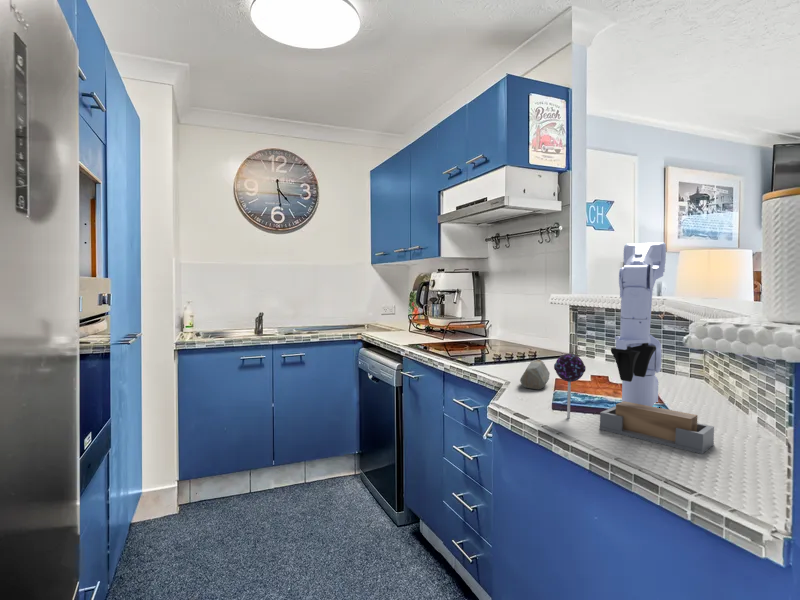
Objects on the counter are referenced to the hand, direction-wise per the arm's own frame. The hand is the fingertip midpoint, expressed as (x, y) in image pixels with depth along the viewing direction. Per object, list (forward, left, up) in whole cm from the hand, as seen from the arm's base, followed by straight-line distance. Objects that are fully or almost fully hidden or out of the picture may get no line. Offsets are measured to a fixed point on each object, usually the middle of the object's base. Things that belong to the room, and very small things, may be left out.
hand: (633, 378), depth 103 cm
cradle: (+7, +7, -10) cm, 14 cm away
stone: (-16, -34, -10) cm, 39 cm away
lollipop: (+8, -11, -10) cm, 17 cm away
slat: (+7, +7, -9) cm, 14 cm away
